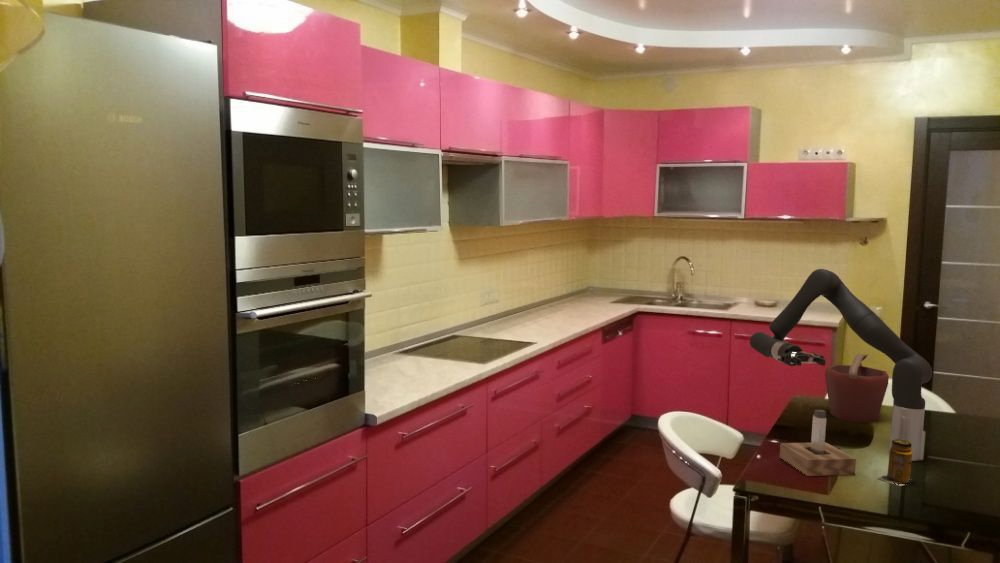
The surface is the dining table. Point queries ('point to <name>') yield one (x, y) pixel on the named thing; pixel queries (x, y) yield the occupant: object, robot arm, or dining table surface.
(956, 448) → the dining table surface
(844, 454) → the tongs holder
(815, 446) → the metal bar
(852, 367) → the bucket
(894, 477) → the condiment
